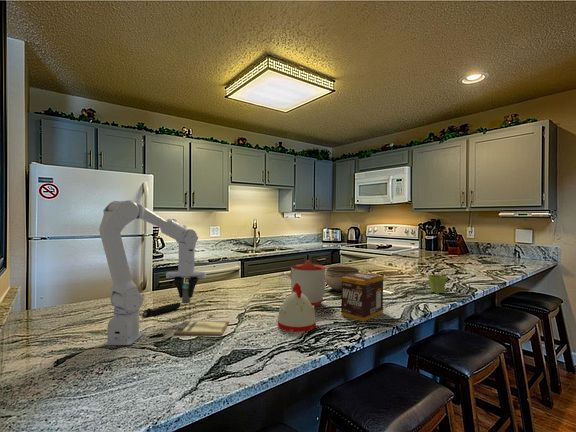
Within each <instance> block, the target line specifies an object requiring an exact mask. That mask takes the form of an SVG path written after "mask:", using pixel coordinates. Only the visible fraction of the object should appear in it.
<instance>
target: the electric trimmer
mask: <svg viewBox="0 0 576 432" xmlns="http://www.w3.org/2000/svg"><path fill="white" fill-rule="evenodd" d="M180 307H181V302H180V301H179V302H175V303H170V304H165V305H162V306H158V307H155V308H153V307H152V308H150V307H149V308H147V309H144V311H143V313H142V317H143V318H149V317H151V316H154V315H159V314H162V313H169V312H172V311H175V310H177V309H179V308H180Z"/></svg>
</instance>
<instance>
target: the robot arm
mask: <svg viewBox="0 0 576 432" xmlns="http://www.w3.org/2000/svg"><path fill="white" fill-rule="evenodd" d="M102 210H103V215H102V219H101V222H100V225H99V228H98V229H99V234H100V239H101V242H102V247H103V251H104V253H105V257H106V262H107V265H108V269H109V274H110V277H111V280H112V281H111V282H112V285H111V287H110V290H111V294H110V303H111V305H112V306H114V308H113V316H112V318H111V319H109V320H108V323H107V340H106V342H104V346H130V345H133V344H134V343H135V342H136V341H137V340H138V339H140V338H141V337H142V336H143V335H144V334H145V332H144V331H140V308H141V307H142V306H143V304H144V296H143V295H142V293H140V291H139V289H138V286H137V284H136V283H135V282H134V281H133V279H132V275H131V271H130V267H129V263H128V258H127V255H126V251H125V247H124V244H123V242H124V241H123V239H122V235H121V232H122V231H123V230H124V228H125V227H126V226H127V225H129V224H130V223H131V222H133V221H134V220H137V219H138V220H141V221H144V222H146V223H148V224H149V225H150V224H151V225H153V226H155V227H157V228H159V229H160V232H161V234H163V235H165V236H167V237H169V238H171V239H173V240H175V241H176V242H177V243H178V265H177V266H178V268H177V269H178V270H177V271H167V272H166V273H165V278H166V279H169V278H173V280H172V281H173V283H174V284H175V287H176V289H177V292H178V293H177V294H178V296H179V298H181V299H182V284H183V283H185V279H188V283H189V298H190V299H192V298H193V296H194V291H195V288H196V285H197V283H198V281H199V279H206V278H207V272H206V271H195V249H196V244H197V242H198V241H199V236H198V234H197V232H196V230H194V229H191V228H188V227H187V226H186V225H182V224H181V223H179V222H177V219H175V218H167V219H164V218H163V217H161V216H159V215H158V214H156V213H155V212H154V211H151V210H150V209H148V208H147V207H145V206H144V205H142V204H141V203H140V204H139V203H136V201H134V200H128V199H127V200H113V201H111V202H110V203H108V204H107V206H105V207H104V209H102Z"/></svg>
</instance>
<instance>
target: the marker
mask: <svg viewBox="0 0 576 432" xmlns="http://www.w3.org/2000/svg"><path fill="white" fill-rule="evenodd" d="M181 303H182V304H191V298H189V282H184V283H183V284H182V298H181Z"/></svg>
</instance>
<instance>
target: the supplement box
mask: <svg viewBox="0 0 576 432" xmlns="http://www.w3.org/2000/svg"><path fill="white" fill-rule="evenodd" d="M340 307H341V311H340V312H341V315H340V316H341V317H342V316H343V317H346V318H350V319H352V320H356V321H359V320H360V322H366V321H368V319H369V320H371V319H373V318H375V317H377V315H378V316H380V315H382V314H384V276H383V275H380V274H376V273H375V274H373V273H368V272H367V273H366V272H359V273H357V274H353V275H349V276H344V277H342V292H341V306H340ZM381 313H382V314H381ZM379 314H380V315H379ZM374 316H375V317H374ZM370 318H371V319H370Z"/></svg>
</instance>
